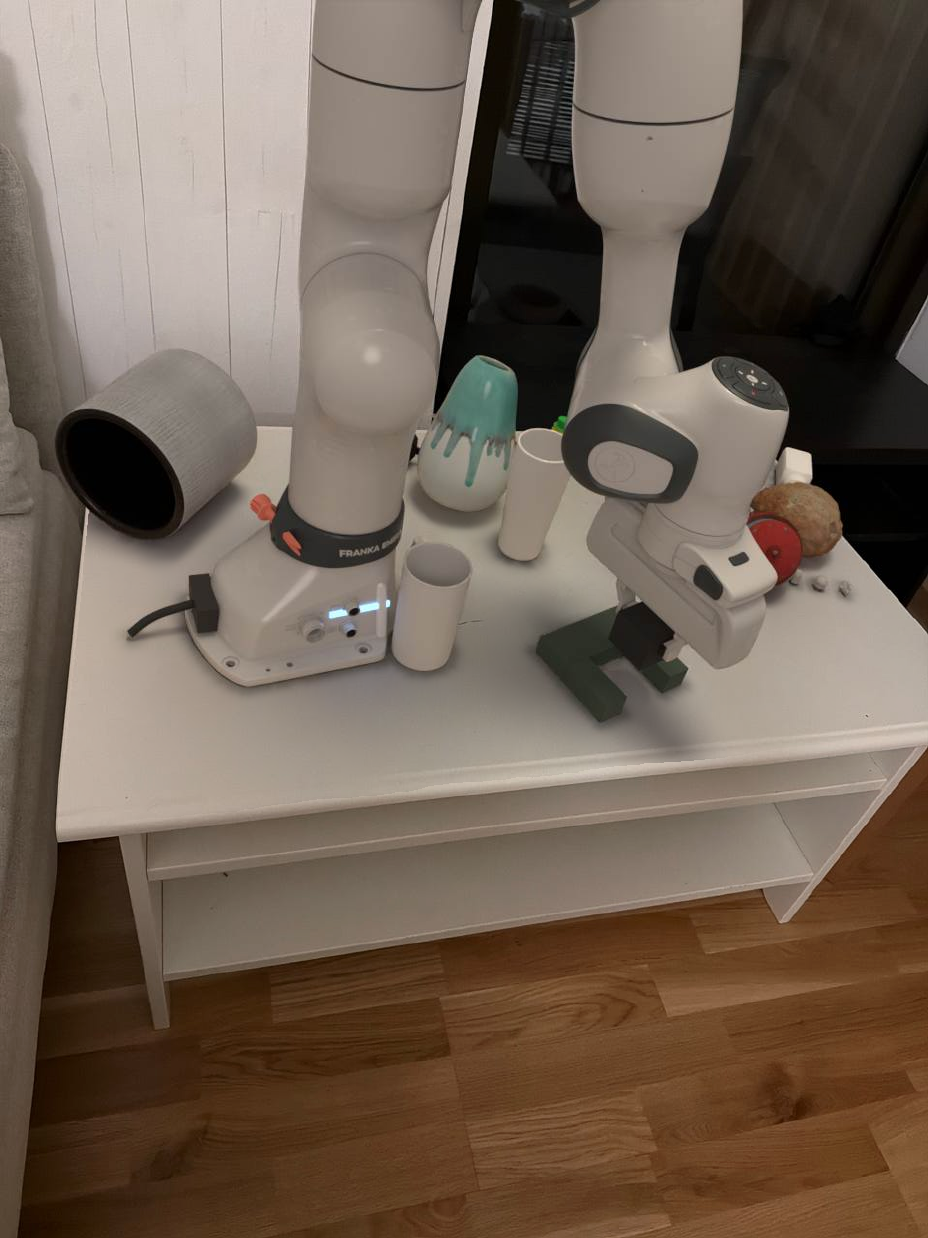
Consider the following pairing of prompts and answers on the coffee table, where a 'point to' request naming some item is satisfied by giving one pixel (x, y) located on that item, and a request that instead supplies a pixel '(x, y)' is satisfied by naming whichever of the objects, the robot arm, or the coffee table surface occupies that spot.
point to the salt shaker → (794, 467)
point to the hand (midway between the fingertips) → (645, 635)
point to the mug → (429, 604)
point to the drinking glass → (532, 493)
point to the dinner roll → (804, 514)
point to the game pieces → (820, 581)
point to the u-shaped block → (597, 663)
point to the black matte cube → (639, 634)
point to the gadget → (777, 542)
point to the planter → (157, 443)
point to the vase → (471, 438)
